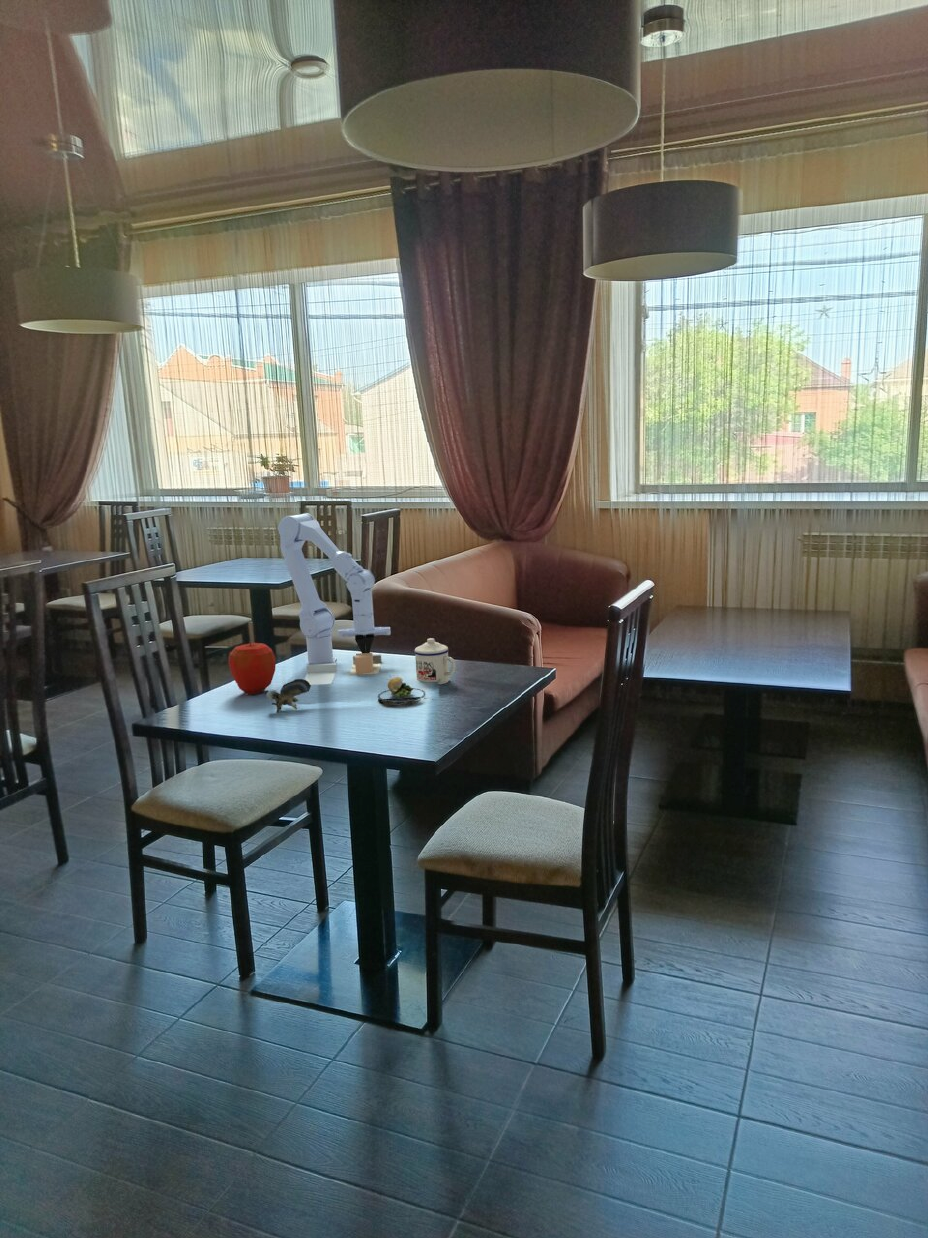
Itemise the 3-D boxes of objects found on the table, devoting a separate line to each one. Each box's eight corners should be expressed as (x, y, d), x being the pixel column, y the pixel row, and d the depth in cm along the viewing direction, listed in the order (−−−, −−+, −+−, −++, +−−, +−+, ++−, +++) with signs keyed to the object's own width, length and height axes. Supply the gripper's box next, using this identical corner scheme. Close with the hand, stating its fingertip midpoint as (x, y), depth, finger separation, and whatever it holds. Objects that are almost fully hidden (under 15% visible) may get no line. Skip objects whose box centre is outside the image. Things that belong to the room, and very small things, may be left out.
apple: (272, 698, 223) (267, 644, 220) (226, 700, 223) (220, 646, 220) (283, 685, 235) (278, 634, 232) (239, 686, 235) (234, 636, 232)
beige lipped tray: (353, 665, 251) (353, 655, 250) (381, 664, 251) (381, 654, 250) (349, 678, 237) (348, 668, 236) (378, 677, 237) (378, 666, 237)
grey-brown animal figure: (297, 710, 207) (318, 692, 215) (277, 685, 207) (299, 667, 215) (277, 724, 212) (299, 706, 220) (257, 699, 211) (280, 682, 219)
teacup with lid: (409, 683, 230) (406, 641, 228) (429, 675, 237) (427, 633, 235) (445, 689, 223) (443, 645, 221) (466, 680, 230) (463, 637, 228)
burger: (418, 708, 209) (417, 678, 208) (371, 707, 212) (369, 678, 210) (430, 694, 221) (428, 665, 219) (385, 693, 223) (383, 665, 222)
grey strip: (308, 675, 243) (307, 664, 242) (337, 673, 243) (336, 663, 242) (301, 689, 229) (300, 678, 228) (331, 687, 229) (330, 676, 229)
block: (357, 669, 242) (356, 653, 242) (373, 668, 243) (372, 652, 242) (355, 673, 238) (354, 657, 237) (372, 672, 238) (371, 656, 237)
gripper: (335, 618, 241) (339, 665, 244) (388, 615, 241) (391, 662, 244) (338, 613, 248) (342, 659, 250) (389, 610, 248) (392, 656, 251)
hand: (366, 660), depth 248 cm, fingers closed, pressing on beige lipped tray
